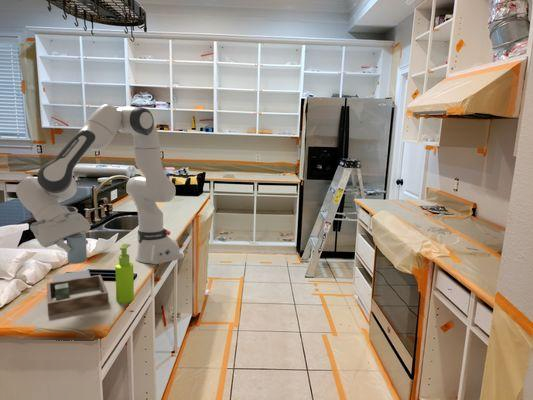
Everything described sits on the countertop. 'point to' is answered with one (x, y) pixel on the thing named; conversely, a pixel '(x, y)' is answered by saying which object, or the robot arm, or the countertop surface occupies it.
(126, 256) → the soap dispenser
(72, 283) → the crate
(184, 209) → the countertop surface
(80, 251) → the cup
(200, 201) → the countertop surface
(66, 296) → the block
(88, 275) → the board
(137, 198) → the robot arm
